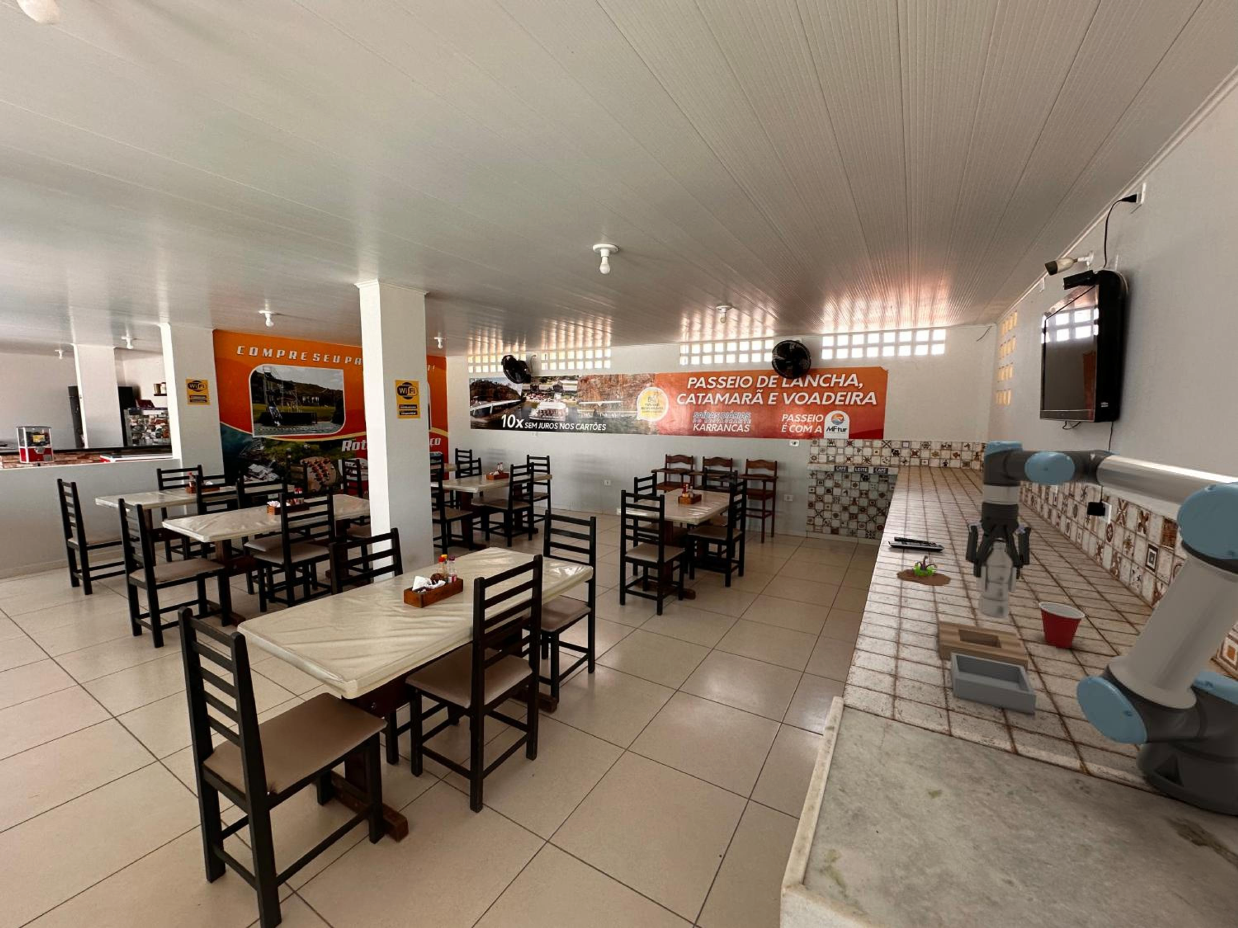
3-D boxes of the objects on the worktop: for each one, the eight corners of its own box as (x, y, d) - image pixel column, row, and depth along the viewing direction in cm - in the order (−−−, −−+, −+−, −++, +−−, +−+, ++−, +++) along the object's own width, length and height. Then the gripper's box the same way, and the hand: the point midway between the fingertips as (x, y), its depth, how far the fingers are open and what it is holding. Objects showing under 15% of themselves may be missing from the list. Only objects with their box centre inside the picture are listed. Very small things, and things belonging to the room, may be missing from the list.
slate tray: (1034, 715, 119) (1036, 695, 118) (954, 696, 127) (955, 677, 126) (1022, 684, 132) (1023, 666, 132) (950, 669, 140) (951, 652, 140)
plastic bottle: (973, 610, 133) (977, 536, 131) (1004, 613, 130) (1008, 538, 129) (982, 619, 126) (986, 542, 125) (1014, 622, 124) (1019, 544, 123)
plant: (958, 582, 215) (959, 557, 214) (941, 592, 203) (942, 565, 202) (908, 571, 230) (909, 547, 229) (890, 580, 218) (891, 555, 217)
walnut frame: (1027, 675, 136) (1028, 660, 136) (940, 658, 147) (941, 643, 146) (1014, 646, 154) (1015, 632, 153) (937, 633, 164) (938, 619, 163)
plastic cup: (1078, 657, 147) (1081, 617, 146) (1032, 644, 155) (1034, 607, 154) (1085, 646, 154) (1088, 608, 153) (1040, 634, 162) (1042, 599, 161)
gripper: (1034, 500, 128) (1028, 587, 130) (951, 498, 131) (947, 583, 133) (1053, 505, 120) (1047, 597, 122) (965, 503, 124) (960, 593, 126)
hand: (995, 590), depth 128 cm, fingers closed on plastic bottle, 6 cm apart
